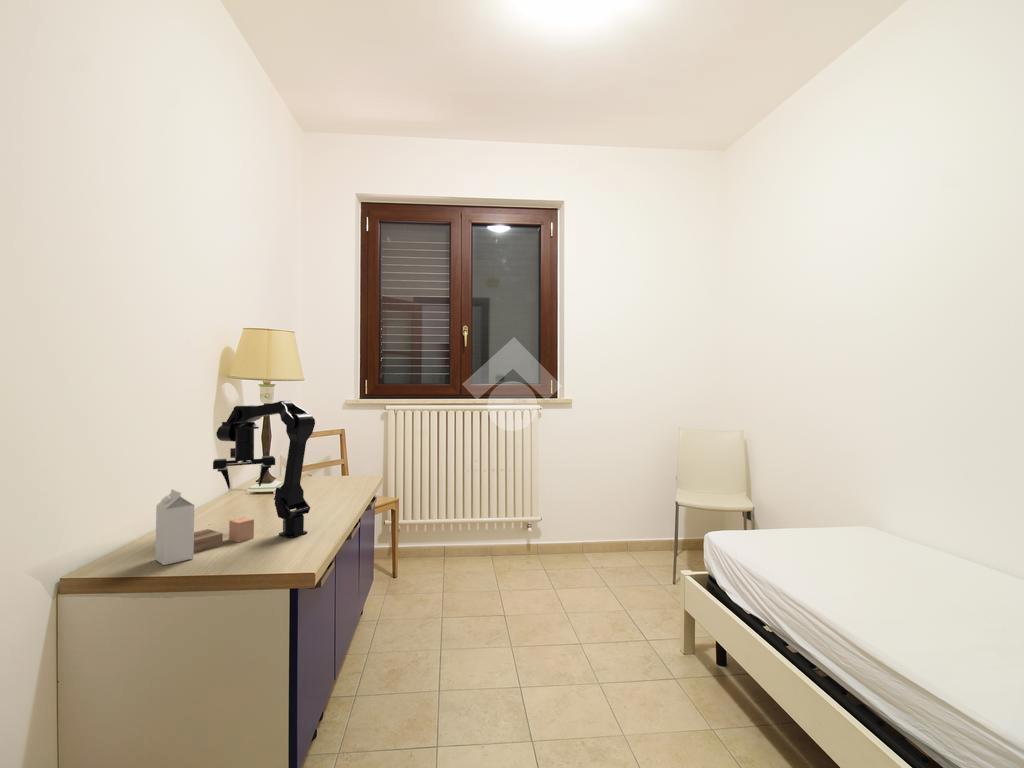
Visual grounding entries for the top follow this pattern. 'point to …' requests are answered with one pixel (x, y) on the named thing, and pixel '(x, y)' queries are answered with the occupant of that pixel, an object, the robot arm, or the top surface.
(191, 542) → the milk carton
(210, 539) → the walnut block
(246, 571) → the top surface
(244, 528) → the terracotta cube
